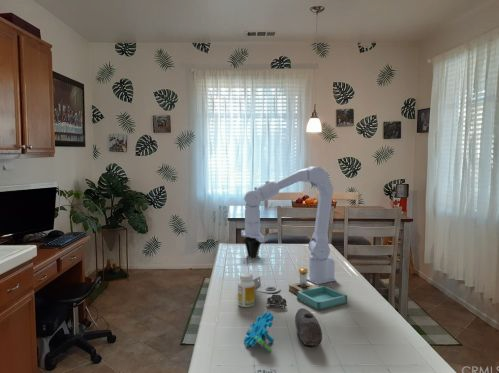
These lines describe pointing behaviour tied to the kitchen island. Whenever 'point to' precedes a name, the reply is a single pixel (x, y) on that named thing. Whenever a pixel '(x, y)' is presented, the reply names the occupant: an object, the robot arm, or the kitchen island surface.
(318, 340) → the perforated stone tool
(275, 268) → the kitchen island surface
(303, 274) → the pin
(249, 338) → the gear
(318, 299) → the tray
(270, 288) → the bracket
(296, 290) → the socket
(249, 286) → the supplement bottle
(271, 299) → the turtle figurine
